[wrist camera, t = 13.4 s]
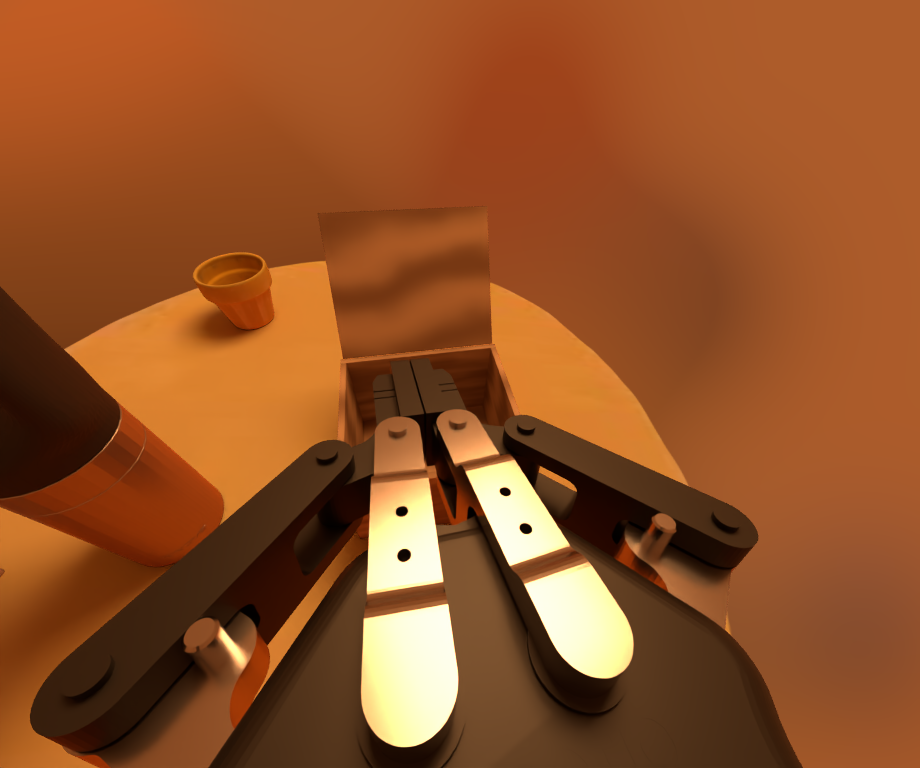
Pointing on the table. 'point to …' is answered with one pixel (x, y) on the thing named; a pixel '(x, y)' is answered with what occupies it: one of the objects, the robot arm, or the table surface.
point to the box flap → (408, 279)
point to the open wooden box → (468, 367)
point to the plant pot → (238, 288)
